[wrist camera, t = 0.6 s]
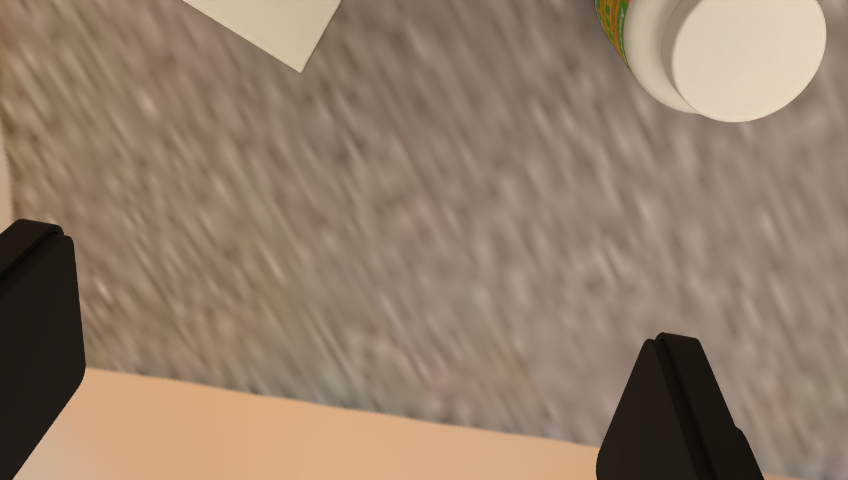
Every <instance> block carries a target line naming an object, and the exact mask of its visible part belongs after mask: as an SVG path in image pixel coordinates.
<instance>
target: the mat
mask: <svg viewBox="0 0 848 480" xmlns="http://www.w3.org/2000/svg"><path fill="white" fill-rule="evenodd" d="M183 1H185V2H186V3H188V4H190V5H191V6H193V7H195V8H196V9H198V10H199V11H201V12H203V13H204V14H206V15H208V16H209V17H211V18H212V19H214V20H216V21H217V22H219V23H220V24H222V25H224V26H225V27H227V28H229V29H230V30H232V31H233V32H235V33H237V34H238V35H240V36H242V37H243V38H245V39H246V40H248V41H250V42H251V43H253V44H255V45H256V46H258V47H259V48H261V49H263V50H264V51H266V52H268V53H269V54H271V55H272V56H274V57H276V58H277V59H279V60H281V61H282V62H284V63H285V64H287V65H289V66H290V67H292V68H294V69H295V70H297V71H298V72H300V73H301V72H302V70H303V69H304V67H305V65H306V63H307V61H308V60H309V58H310V56H311V54H312V53H313V51H314V49H315V47H316V45H317V44H318V42H319V40H320V38H321V36H322V35H323V33H324V31H325V29H326V27H327V26H328V24H329V22H330V20H331V18H332V17H333V15H334V13H335V11H336V9H337V8H338V6H339V4H340V2H341V0H183Z"/></svg>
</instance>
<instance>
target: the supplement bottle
mask: <svg viewBox="0 0 848 480" xmlns="http://www.w3.org/2000/svg"><path fill="white" fill-rule="evenodd" d="M595 6H596V12H597V16H598V19H599V21H600V24H601V26H602V28H603V30H604V31H605V33H606V35H607V36H608V38H609V39H610V41H611V42H612V44H613V45H614V47H615V48H616V50H617V52H618V53H619V55H620V57H621V58H622V59H623V61H624V62H625V64H626V65H627V66H628V68H629V69H630V71H631V72H632V74H633V75H634V77H635V78H636V80H637V81H638V82H639V83H640V85H641V86H642V87H643V88H644V89H645V90H646V91H647V92H648V93H649V94H650V95H651V96H652V97H654V98H655V99H656V100H658V101H659V102H661V103H663V104H664V105H667V106H669V107H671V108H673V109H676V110H679V111H683V112H688V113H696V114H702V115H704V116H706V117H708V118H711V119H714V120H719V121H725V122H744V121H750V120H754V119H758V118H761V117H764V116H766V115H769V114H771V113H773V112H775V111H777V110H779V109H781V108H782V107H784V106H785V105H787V104H788V103H789V102H791V101H792V100H793V99H794V98H795V97H796V96H797V95H799V94H800V93H801V92H802V90H803V89H804V88H805V87H806V86H807V85H808V83H809V82H810V80H811V79H812V77H813V76H814V74H815V73H816V71H817V69H818V67H819V65H820V62H821V60H822V57H823V54H824V50H825V45H826V25H825V19H824V15H823V12H822V10H821V7H820V5H819V3H818V2H817V0H595Z"/></svg>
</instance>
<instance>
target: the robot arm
mask: <svg viewBox="0 0 848 480" xmlns="http://www.w3.org/2000/svg"><path fill="white" fill-rule="evenodd" d="M85 367H86V362H85V352H84V342H83V332H82V322H81V312H80V302H79V292H78V282H77V272H76V262H75V252H74V244H73V240H72V238H71V237H69V236H66V235H64V232H63V230H62V228H61V227H60V226H58V225H55V224H50V223H44V222H38V221H33V220H27V219H19V220H17V221H16V222H14V223H13V224H12V225H11V226H9V227H8V228H7V229H6V230H5V231H3V232H2V233H1V234H0V480H12V479H13V478H14V477H15V475H16V474H17V473H18V471H19V470H20V468H21V467H22V465H23V464H24V463H25V461H26V460H27V459H28V457H29V456H30V454H31V453H32V451H33V450H34V449H35V447H36V446H37V445H38V443H39V442H40V440H41V439H42V437H43V436H44V435H45V433H46V432H47V431H48V429H49V427H50V426H51V425H52V424H53V422H54V421H55V419H56V418H57V417H58V415H59V414H60V412H61V411H62V410H63V408H64V407H65V406H66V404H67V403H68V401H69V400H70V398H71V397H72V396H73V394H74V393H75V392H76V390H77V389H78V387H79V385H80V384H81V382H82V380H83V376H84V373H85ZM596 476H597V480H764V478H763V476H762V473H761V471H760V469H759V466H758V464H757V462H756V459H755V457H754V455H753V452H752V450H751V448H750V445H749V443H748V441H747V439H746V437H745V435H744V434H743V432H742V431H741V430H740V429H738V428H737V427H736V426H735V424H734V422H733V419H732V417H731V414H730V412H729V410H728V407H727V405H726V402H725V400H724V398H723V395H722V393H721V391H720V388H719V386H718V383H717V381H716V379H715V376H714V374H713V372H712V369H711V367H710V364H709V362H708V360H707V357H706V355H705V353H704V350H703V348H702V345H701V343H700V342H699V340H698V339H696V338H692V337H687V336H681V335H676V334H670V333H664V332H662V333H660V334H659V335H658V336H657V337H656V339H655V340H653V339H647V340H646V341H645V342H644V344H643V346H642V348H641V351H640V353H639V356H638V358H637V360H636V363H635V365H634V368H633V370H632V373H631V375H630V377H629V380H628V382H627V385H626V387H625V390H624V392H623V394H622V397H621V399H620V402H619V404H618V407H617V409H616V412H615V414H614V416H613V419H612V421H611V424H610V426H609V429H608V431H607V433H606V436H605V438H604V441H603V443H602V446H601V448H600V450H599V453H598V457H597V463H596Z"/></svg>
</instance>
